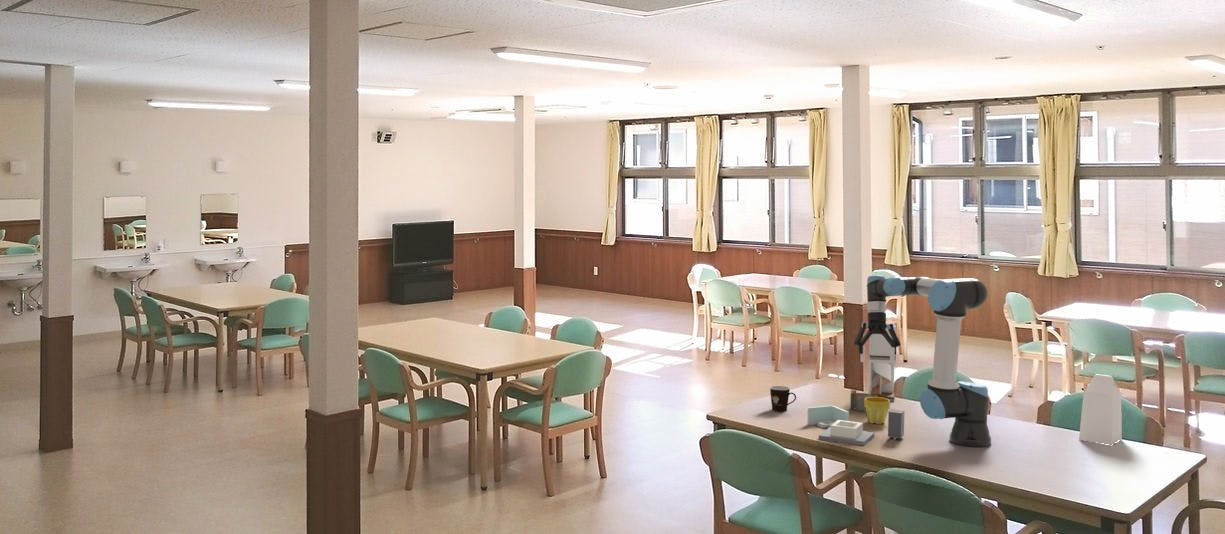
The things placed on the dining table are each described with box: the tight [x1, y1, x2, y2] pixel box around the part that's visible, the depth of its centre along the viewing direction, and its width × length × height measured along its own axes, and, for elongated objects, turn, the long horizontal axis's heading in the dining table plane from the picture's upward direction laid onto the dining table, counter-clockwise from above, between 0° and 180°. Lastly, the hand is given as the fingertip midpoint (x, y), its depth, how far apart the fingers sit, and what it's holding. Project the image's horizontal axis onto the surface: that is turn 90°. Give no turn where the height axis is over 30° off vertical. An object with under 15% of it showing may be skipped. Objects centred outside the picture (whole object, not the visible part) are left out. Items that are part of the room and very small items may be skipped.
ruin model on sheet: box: [849, 389, 877, 412], centre depth 421 cm, size 11×3×10 cm, turn 74°
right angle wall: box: [807, 405, 850, 429], centre depth 393 cm, size 12×12×8 cm
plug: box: [887, 408, 905, 441], centre depth 375 cm, size 5×5×11 cm
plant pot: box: [864, 397, 891, 425], centre depth 400 cm, size 10×10×10 cm
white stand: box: [867, 322, 897, 402], centre depth 442 cm, size 11×11×35 cm
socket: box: [818, 420, 875, 447], centre depth 377 cm, size 18×15×6 cm
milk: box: [1078, 373, 1123, 445], centre depth 372 cm, size 12×12×26 cm
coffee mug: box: [769, 385, 797, 413], centre depth 420 cm, size 12×9×10 cm
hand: (877, 362), depth 401 cm, fingers open, 13 cm apart
